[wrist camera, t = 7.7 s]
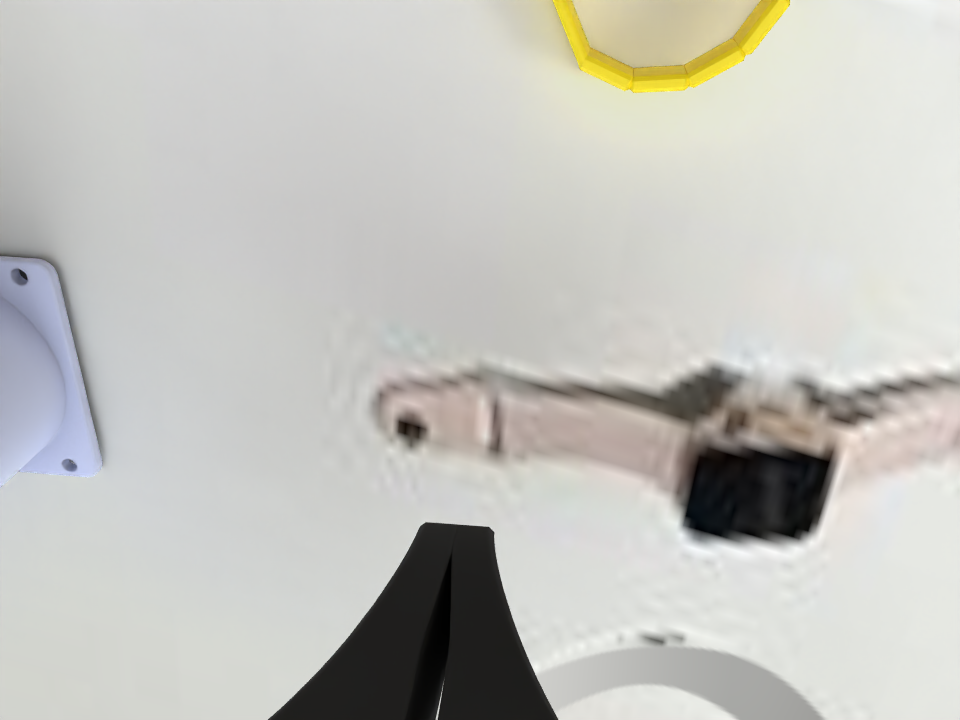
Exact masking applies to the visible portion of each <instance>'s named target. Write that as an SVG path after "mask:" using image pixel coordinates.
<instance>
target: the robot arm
mask: <svg viewBox="0 0 960 720" xmlns="http://www.w3.org/2000/svg"><path fill="white" fill-rule="evenodd" d="M19 269H20V270H22V271H23V272H25V273H26V275H27V277H28V280H26V279H24V278H23V277H22V276H21V275H20V273H19ZM70 460H72V461H73V462H75V464H73V463H72V462H70ZM101 468H102V458H101V454H100V449H99V445H98V441H97V437H96V433H95V428H94V424H93V420H92V416H91V412H90V407H89V403H88V399H87V395H86V391H85V387H84V382H83V378H82V374H81V370H80V366H79V361H78V357H77V353H76V349H75V345H74V341H73V336H72V332H71V328H70V324H69V320H68V315H67V311H66V307H65V303H64V299H63V294H62V290H61V286H60V282H59V278H58V274H57V272H56V270H55V268H54V267H53V266H52V265H51V264H50V263H48V262H47V261H45V260H42V259H36V258H22V257H7V256H0V488H1V487H2V486H3V485H4V484H5V483H6V482H7V481H8V480H9V479H10V478H11V477H12V476H14V475H15V474H16V473H17V472H30V473H42V474H54V475H66V476H78V477H92V476H94V475H96V474H97V473H98V472H99V471H100V469H101ZM443 682H444V685H443ZM442 687H443V691H442ZM441 692H442V697H441V703H440V709H439V715H438V720H558V718H557V716H556V714H555V713H554V711H553V709H552V707H551V705H550V703H549V701H548V699H547V697H546V695H545V694H544V691H543V689H542V687H541V685H540V683H539V681H538V680H537V677H536V675H535V673H534V671H533V668H532V666H531V664H530V662H529V659H528V657H527V655H526V652H525V650H524V647H523V645H522V642H521V640H520V637H519V635H518V632H517V629H516V627H515V624H514V621H513V618H512V615H511V612H510V609H509V606H508V603H507V599H506V596H505V593H504V590H503V586H502V582H501V578H500V574H499V569H498V565H497V559H496V553H495V544H494V532H493V531H492V530H491V529H490V528H489V527H483V526H469V525H455V524H442V523H428V522H426V523H424V524H423V525H421V526H420V528H419V530H418V532H417V534H416V537H415V539H414V540H413V542H412V544H411V546H410V548H409V550H408V552H407V554H406V555H405V557H404V559H403V560H402V562H401V564H400V565H399V567H398V569H397V570H396V572H395V574H394V575H393V577H392V578H391V580H390V581H389V583H388V584H387V586H386V587H385V589H384V590H383V592H382V593H381V594H380V596H379V597H378V599H377V600H376V602H375V603H374V605H373V606H372V607H371V609H370V610H369V611H368V612H367V614H366V615H365V616H364V618H363V619H362V620H361V622H360V623H359V624H358V626H357V627H356V628H355V629H354V631H353V632H352V633H351V635H350V636H349V637H348V638H347V639H346V641H345V642H344V643H343V644H342V645H341V647H340V648H339V649H338V650H337V651H336V652H335V653H334V655H333V656H332V657H331V658H330V659H329V660H328V661H327V662H326V663H325V665H324V666H323V667H322V668H321V669H320V670H319V671H318V672H317V673H316V674H315V675H314V676H313V677H312V678H311V679H310V680H309V681H308V682H307V683H306V684H305V685H304V686H303V687H302V688H301V689H300V690H299V691H298V692H297V693H296V694H295V695H294V696H293V697H292V698H291V699H290V700H289V701H288V702H287V703H286V704H285V705H284V706H283V707H282V708H281V709H279V710H278V711H277V712H276V713H275V714H274V715H273V716H272V717H270V718H269V719H268V720H436V715H437V710H438V706H439V701H440V696H441Z"/></svg>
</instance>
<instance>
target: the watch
mask: <svg viewBox="0 0 960 720" xmlns="http://www.w3.org/2000/svg"><path fill="white" fill-rule="evenodd" d="M553 3H554V5H555V8H556V10H557V13H558V15H559V18H560V20H561V22H562V25H563V27H564V30H565V32H566V35H567V37H568V40H569V42H570V45H571V47H572V50H573V52H574V54H575V57H576V59H577V62H578V65H579V68H580V70H582V71H584V72H586V73H588V74H590V75H592V76H594V77H596V78H599V79H601V80H603V81H605V82H607V83H609V84H611V85H613V86H615V87H617V88H619V89H622V90H624V91H626V90H629V89H630V90H631V91H632V92H633V93H639V92H660V91H680V90H686V89H687V88H688V87H689V86H690V87H693V88H694V87H696V86H698V85H700V84H701V83H703V82H705V81H707V80H709V79H711V78H712V77H714V76H716V75H718V74H720V73H722V72H723V71H725V70H727V69H729V68H731V67H733V66H735V65H736V64H738V63H740V62H742V61H744V58H745V56H746V55H748V54H752V53H753V51H754V50H755V49H756V47H757V46H758V45H759V44H760V42H761V41H762V40H763V39H764V37H765V36H766V35H767V33H768V32H769V31H770V30H771V28H772V27H773V26H774V24H775V23H776V22H777V21H778V19H779V18H780V17H781V16H782V14H783V13H784V12H785V10H786V9H787V8H788V7H789V5H790V0H761V1H760V2H759V4H758V5H757V6H756V7H755V9H754V10H753V11H752V13H751V14H750V15H749V17H748V18H747V19H746V21H745V22H744V23H743V25H742V26H741V27H740V29H739V30H738V31H737V33H736V34H735V35H734V36H733V39H732V38H731V39H730V40H728V41H726V42H724V43H722V44H721V45H719V46H717V47H715V48H714V49H712V50H710V51H708V52H706V53H705V54H703V55H701V56H699V57H698V58H696V59H694V60H692V61H690V62H689V63H687V64H685V65H684V66H683V65H678V66H659V67H641V68H632V67H630V66H628V65H626V64H624V63H622V62H620V61H618V60H616V59H614V58H611V57H609V56H607V55H605V54H603V53H601V52H599V51H597V50H595V49H593V48H591V47H590V46H589V43H588V40H587V38H586V35H585V33H584V30H583V28H582V25H581V23H580V20H579V18H578V15H577V13H576V10H575V8H574V5H573V2H572V0H553Z"/></svg>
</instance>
